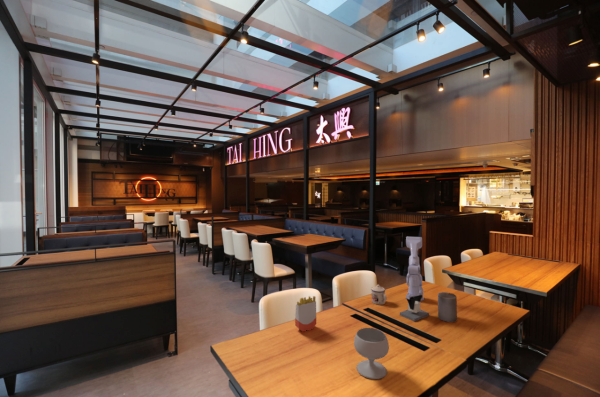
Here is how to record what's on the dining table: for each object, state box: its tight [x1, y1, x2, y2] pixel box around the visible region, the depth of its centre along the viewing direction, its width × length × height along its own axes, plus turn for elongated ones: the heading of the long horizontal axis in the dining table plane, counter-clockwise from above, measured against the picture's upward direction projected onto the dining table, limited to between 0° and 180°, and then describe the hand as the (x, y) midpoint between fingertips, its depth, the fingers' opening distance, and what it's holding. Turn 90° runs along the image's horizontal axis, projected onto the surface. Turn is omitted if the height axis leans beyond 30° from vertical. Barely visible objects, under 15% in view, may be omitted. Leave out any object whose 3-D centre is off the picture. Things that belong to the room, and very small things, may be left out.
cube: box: [407, 301, 422, 313], centre depth 164 cm, size 5×5×5 cm
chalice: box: [353, 327, 390, 380], centre depth 114 cm, size 14×14×15 cm
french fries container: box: [294, 295, 317, 332], centre depth 149 cm, size 5×11×18 cm, turn 118°
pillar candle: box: [437, 291, 458, 323], centre depth 159 cm, size 10×10×15 cm
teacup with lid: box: [370, 284, 388, 306], centre depth 183 cm, size 12×9×12 cm
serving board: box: [399, 309, 430, 322], centre depth 164 cm, size 14×10×2 cm
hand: (414, 308), depth 164 cm, fingers closed on cube, 5 cm apart
